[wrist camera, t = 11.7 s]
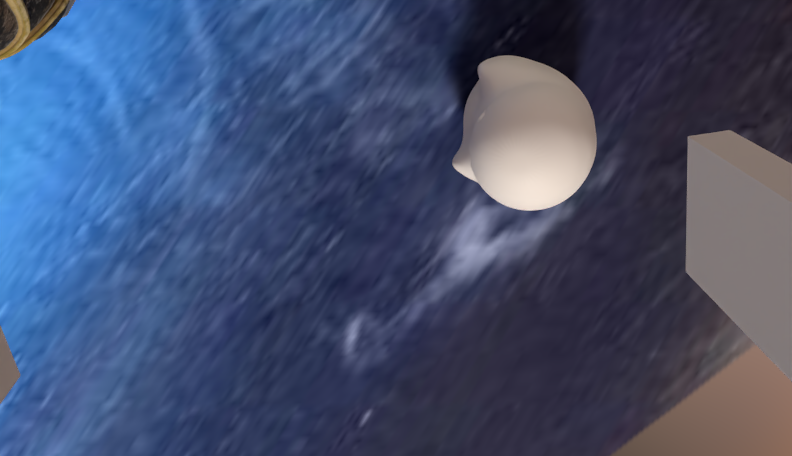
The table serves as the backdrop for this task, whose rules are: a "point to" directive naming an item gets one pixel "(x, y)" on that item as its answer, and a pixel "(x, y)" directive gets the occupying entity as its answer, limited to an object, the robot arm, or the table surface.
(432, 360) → the table surface
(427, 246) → the table surface
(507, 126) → the figurine
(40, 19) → the ring-topped bottle ornament
